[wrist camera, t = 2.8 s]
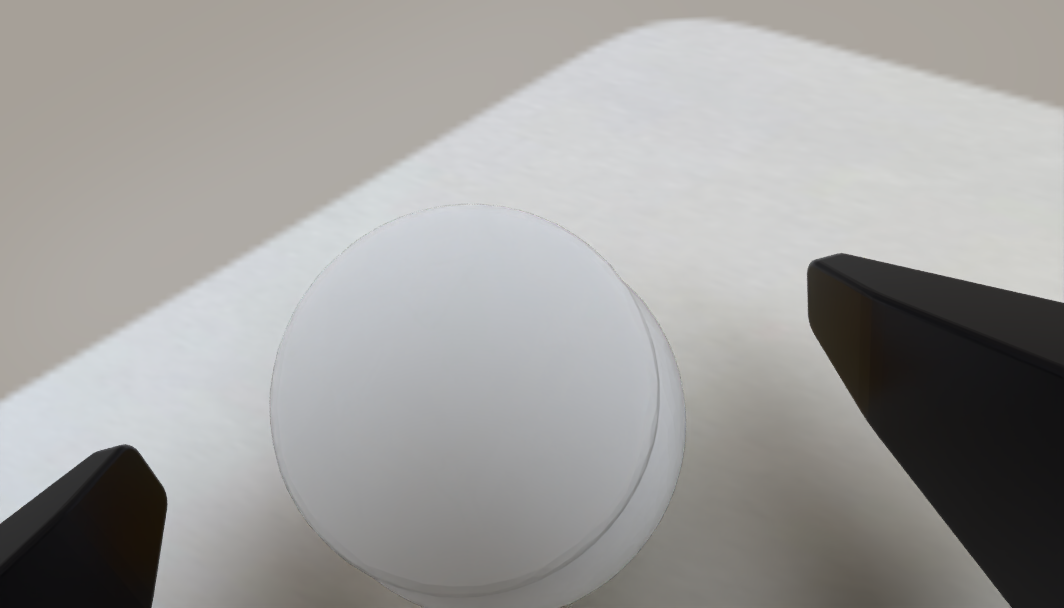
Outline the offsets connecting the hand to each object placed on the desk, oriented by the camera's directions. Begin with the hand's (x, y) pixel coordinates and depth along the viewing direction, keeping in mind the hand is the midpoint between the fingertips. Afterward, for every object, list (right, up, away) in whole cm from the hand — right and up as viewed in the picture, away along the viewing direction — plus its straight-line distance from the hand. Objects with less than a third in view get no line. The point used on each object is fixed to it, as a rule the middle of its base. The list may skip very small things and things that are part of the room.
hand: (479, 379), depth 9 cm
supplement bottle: (+1, -2, +7) cm, 8 cm away
